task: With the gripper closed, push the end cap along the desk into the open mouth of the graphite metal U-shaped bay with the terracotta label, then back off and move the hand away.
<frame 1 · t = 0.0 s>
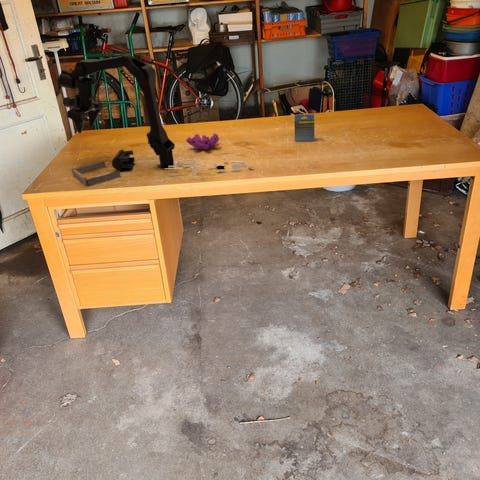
hand: (85, 129, 194), 15 cm above the table, fingers open, 9 cm apart
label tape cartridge: (304, 140, 211), on the table
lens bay: (97, 175, 189), on the table
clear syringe: (208, 170, 188), on the table
end cap: (124, 168, 195), on the table
purple flower bowl: (203, 149, 210), on the table
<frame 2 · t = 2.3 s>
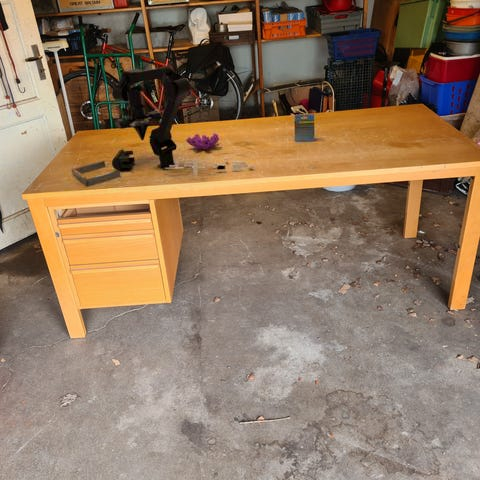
hand: (142, 139, 195), 10 cm above the table, fingers closed
nothing on the table moved.
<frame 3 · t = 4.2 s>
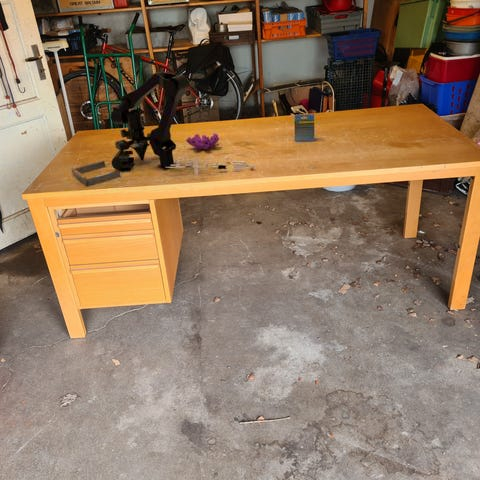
hand: (142, 160, 198), 1 cm above the table, fingers closed
end cap: (124, 168, 195), on the table, touching gripper
everything else where it was.
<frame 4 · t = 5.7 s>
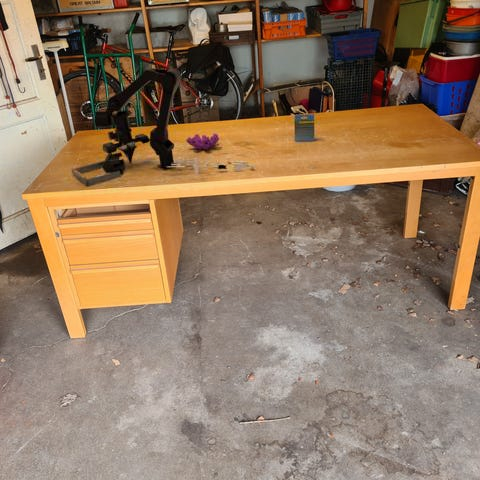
hand: (130, 162, 195), 2 cm above the table, fingers closed
end cap: (116, 171, 192), on the table, touching gripper
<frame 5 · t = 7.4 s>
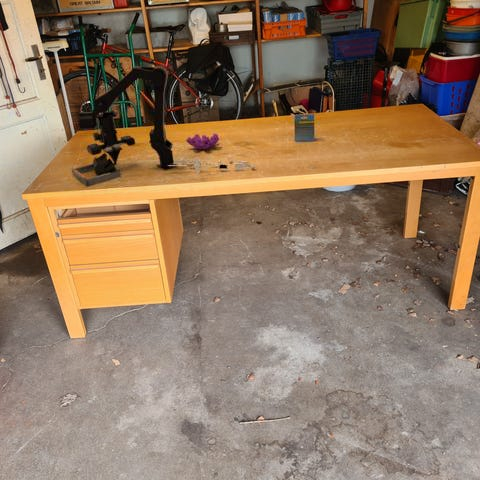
hand: (115, 164, 192), 2 cm above the table, fingers closed, pressing on end cap
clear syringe: (212, 168, 189), on the table
end cap: (108, 172, 189), point 1 cm above the table, touching gripper
everything else where it was.
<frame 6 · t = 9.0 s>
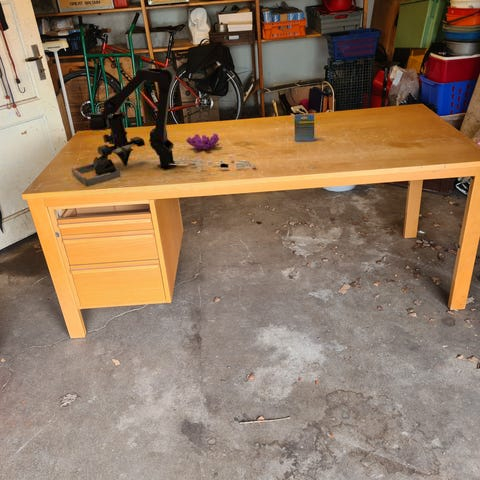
hand: (125, 165, 195), 1 cm above the table, fingers closed
end cap: (108, 173, 189), point 1 cm above the table
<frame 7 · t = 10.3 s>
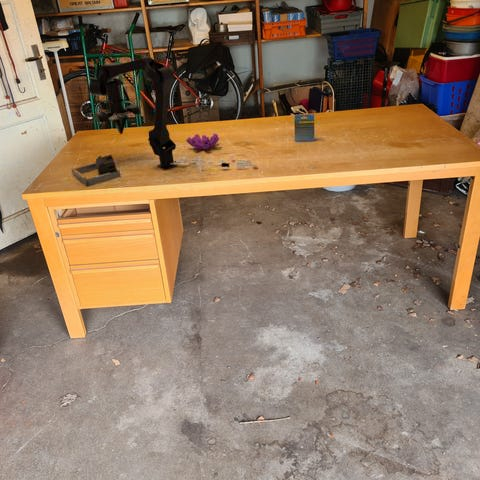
hand: (121, 133, 196), 12 cm above the table, fingers closed
end cap: (109, 174, 189), on the table, touching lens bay
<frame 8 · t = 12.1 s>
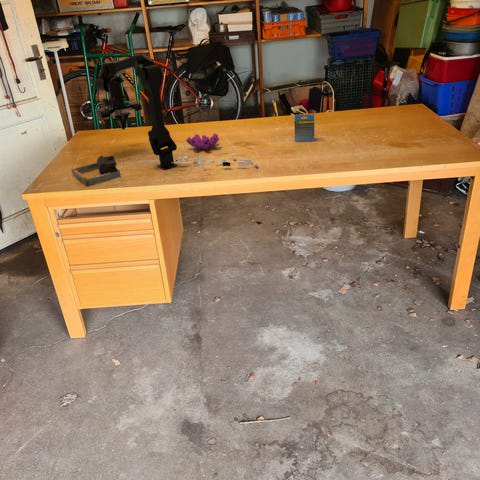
hand: (123, 129, 203), 12 cm above the table, fingers closed
at the end: end cap inside the target area on the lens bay (4.8 cm from its centre), point 0.0 cm above the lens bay's base; the gripper is holding nothing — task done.
